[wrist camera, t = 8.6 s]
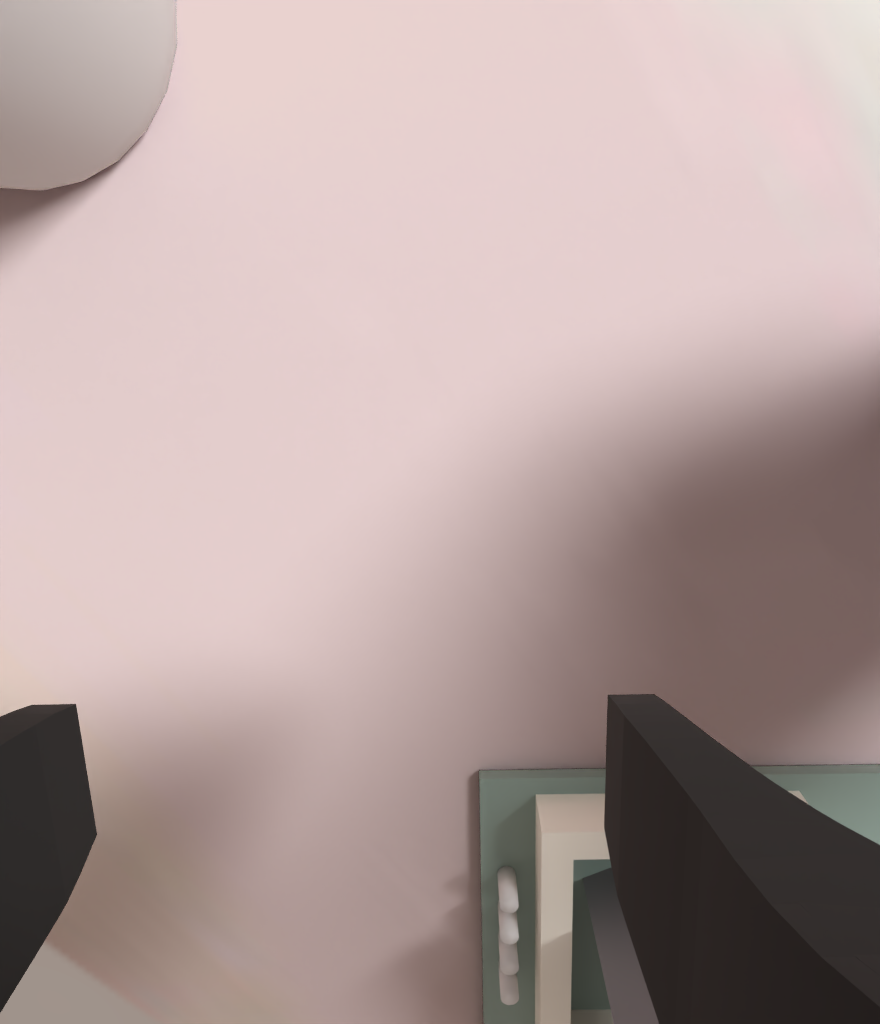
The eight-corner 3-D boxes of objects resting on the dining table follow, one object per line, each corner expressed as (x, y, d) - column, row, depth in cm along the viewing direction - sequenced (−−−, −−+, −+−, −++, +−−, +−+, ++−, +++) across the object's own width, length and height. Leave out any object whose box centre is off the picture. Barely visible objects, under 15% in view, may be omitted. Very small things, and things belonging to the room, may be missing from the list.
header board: (926, 763, 22) (992, 830, 19) (887, 1030, 24) (941, 1123, 22) (478, 770, 22) (482, 837, 20) (483, 1033, 25) (487, 1126, 22)
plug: (684, 839, 22) (785, 1080, 15) (734, 949, 23) (849, 1222, 16) (582, 878, 23) (636, 1129, 16) (635, 985, 24) (708, 1265, 17)
